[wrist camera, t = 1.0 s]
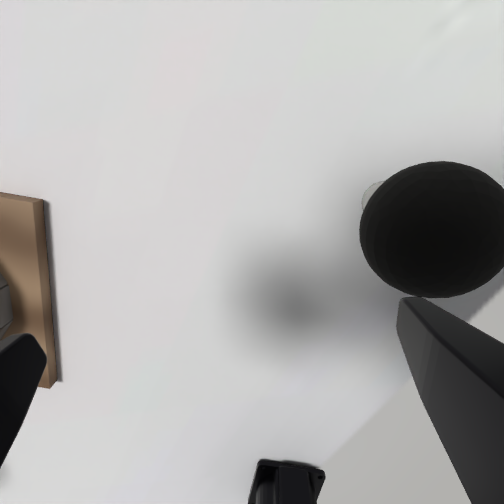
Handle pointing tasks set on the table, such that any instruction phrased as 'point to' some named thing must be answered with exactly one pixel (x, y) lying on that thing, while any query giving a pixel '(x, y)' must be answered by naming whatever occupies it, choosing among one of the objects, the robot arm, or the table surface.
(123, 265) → the table surface
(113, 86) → the table surface
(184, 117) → the table surface
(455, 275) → the light bulb
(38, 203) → the collar plate
